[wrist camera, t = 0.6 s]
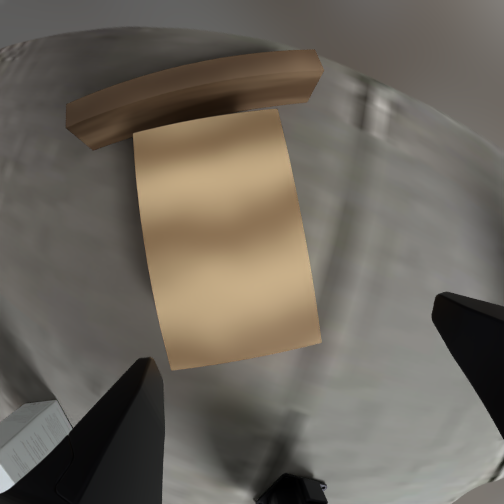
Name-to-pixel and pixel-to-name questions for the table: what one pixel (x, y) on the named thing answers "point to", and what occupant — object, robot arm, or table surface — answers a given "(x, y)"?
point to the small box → (29, 439)
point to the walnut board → (193, 94)
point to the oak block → (224, 239)
